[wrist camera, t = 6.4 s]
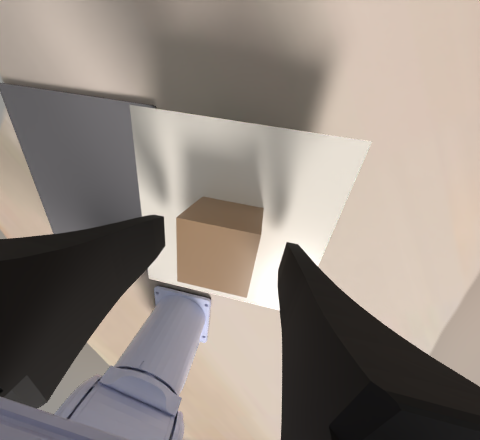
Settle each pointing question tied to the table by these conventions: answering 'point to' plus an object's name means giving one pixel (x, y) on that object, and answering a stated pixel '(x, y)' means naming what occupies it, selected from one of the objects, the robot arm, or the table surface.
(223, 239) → the lid
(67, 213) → the mat
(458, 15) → the table surface
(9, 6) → the table surface
